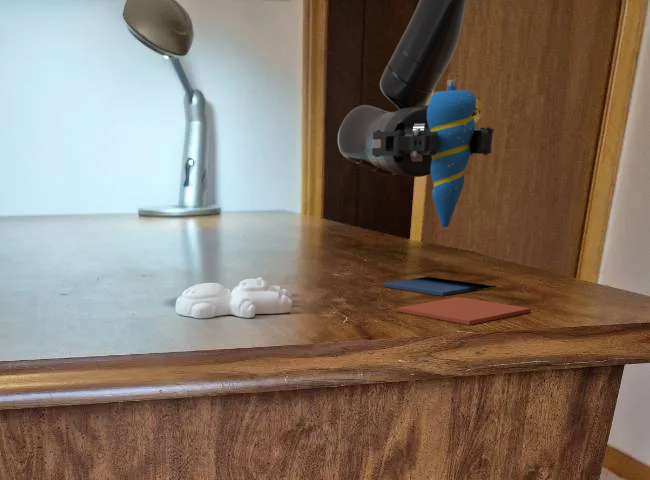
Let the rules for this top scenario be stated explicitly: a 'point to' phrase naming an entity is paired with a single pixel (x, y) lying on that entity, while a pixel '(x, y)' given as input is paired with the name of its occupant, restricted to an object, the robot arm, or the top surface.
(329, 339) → the top surface
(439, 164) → the ornament
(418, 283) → the blue pad
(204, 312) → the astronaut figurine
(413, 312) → the terracotta pad
